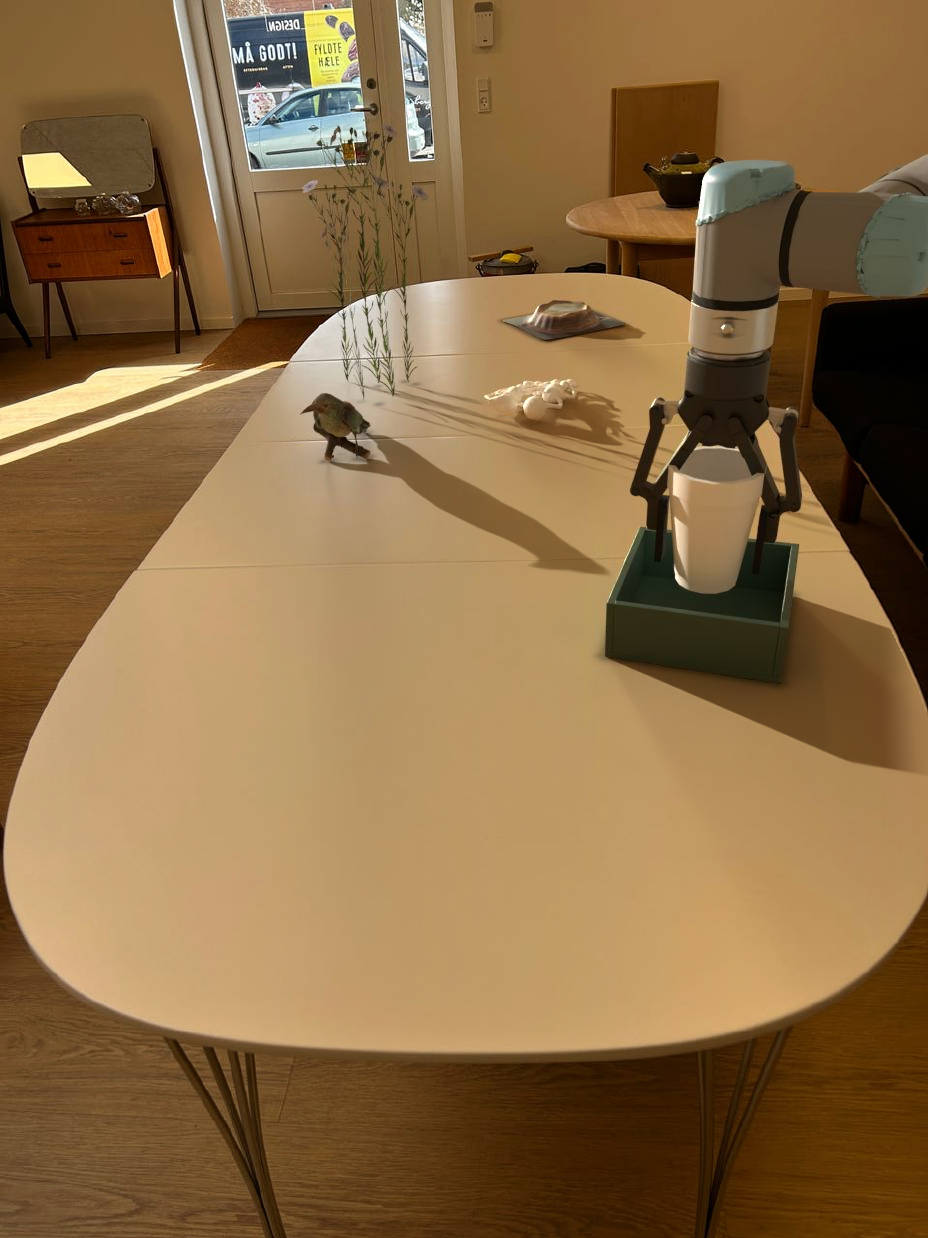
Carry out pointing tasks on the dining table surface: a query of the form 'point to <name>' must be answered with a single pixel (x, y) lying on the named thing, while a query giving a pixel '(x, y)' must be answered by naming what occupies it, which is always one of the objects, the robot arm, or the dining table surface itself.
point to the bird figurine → (338, 424)
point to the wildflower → (380, 184)
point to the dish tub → (702, 613)
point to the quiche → (563, 320)
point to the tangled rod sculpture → (532, 405)
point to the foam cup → (711, 517)
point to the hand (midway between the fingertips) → (707, 561)
